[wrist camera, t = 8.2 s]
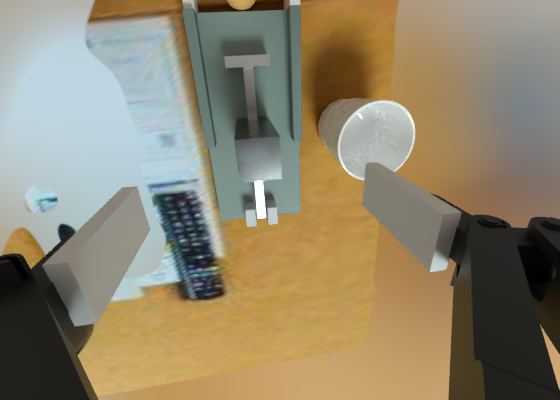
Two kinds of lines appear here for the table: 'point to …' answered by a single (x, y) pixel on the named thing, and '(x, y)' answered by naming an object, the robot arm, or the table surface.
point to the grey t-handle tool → (255, 134)
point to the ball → (241, 4)
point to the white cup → (367, 133)
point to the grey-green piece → (232, 99)
